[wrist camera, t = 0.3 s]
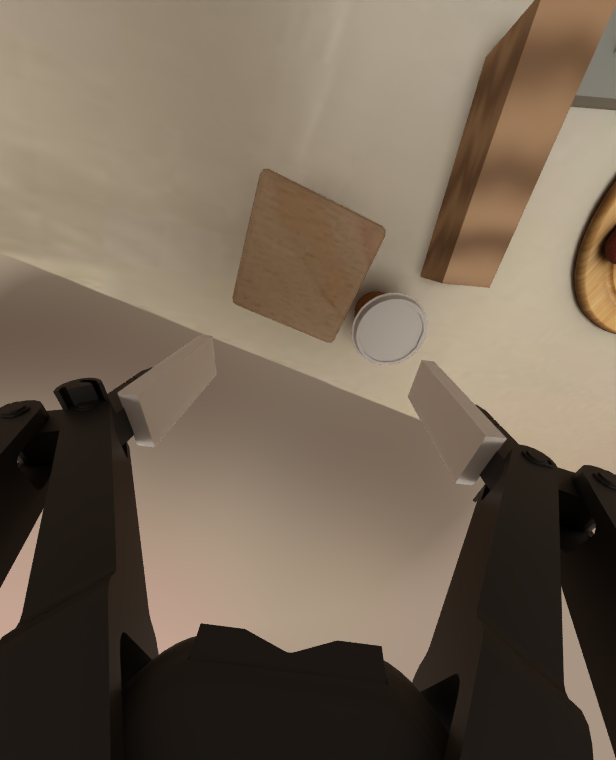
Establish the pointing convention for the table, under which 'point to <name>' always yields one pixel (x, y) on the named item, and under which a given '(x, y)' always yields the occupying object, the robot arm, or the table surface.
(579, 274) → the wooden plate with food
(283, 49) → the table surface
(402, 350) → the disposable coffee cup
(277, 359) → the table surface
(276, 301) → the wooden block
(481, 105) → the walnut beam
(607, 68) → the pedestal
